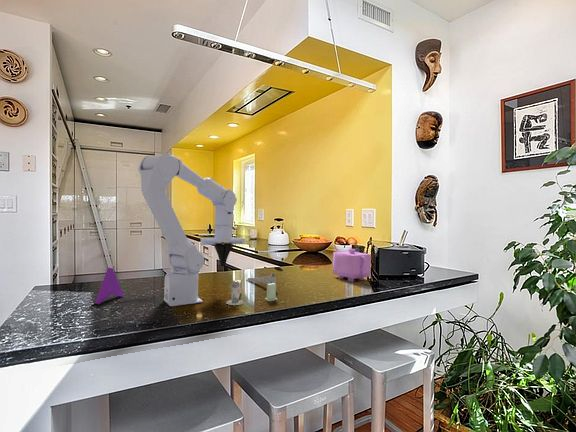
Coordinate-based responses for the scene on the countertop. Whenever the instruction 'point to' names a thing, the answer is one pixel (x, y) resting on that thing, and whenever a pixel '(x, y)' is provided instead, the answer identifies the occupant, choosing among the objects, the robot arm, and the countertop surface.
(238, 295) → the gate
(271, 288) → the latch post
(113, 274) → the arrowhead
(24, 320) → the countertop surface
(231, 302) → the hinge post
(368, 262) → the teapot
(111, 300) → the countertop surface
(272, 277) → the caliper
